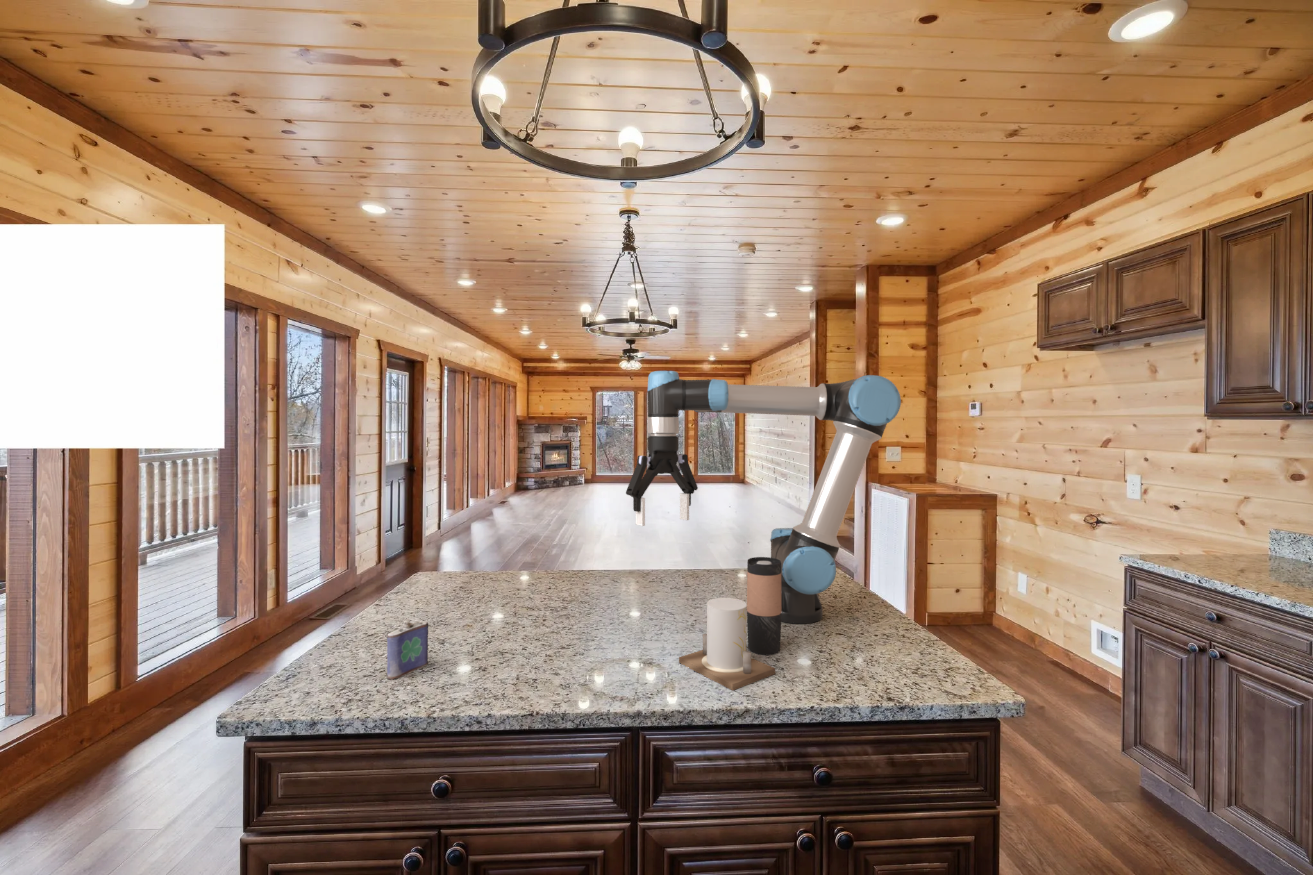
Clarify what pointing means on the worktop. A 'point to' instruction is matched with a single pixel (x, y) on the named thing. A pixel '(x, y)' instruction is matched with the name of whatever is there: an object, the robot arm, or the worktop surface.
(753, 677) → the tray
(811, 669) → the worktop surface
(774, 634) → the travel mug
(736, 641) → the cup
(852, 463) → the robot arm
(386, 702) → the worktop surface
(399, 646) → the flask
